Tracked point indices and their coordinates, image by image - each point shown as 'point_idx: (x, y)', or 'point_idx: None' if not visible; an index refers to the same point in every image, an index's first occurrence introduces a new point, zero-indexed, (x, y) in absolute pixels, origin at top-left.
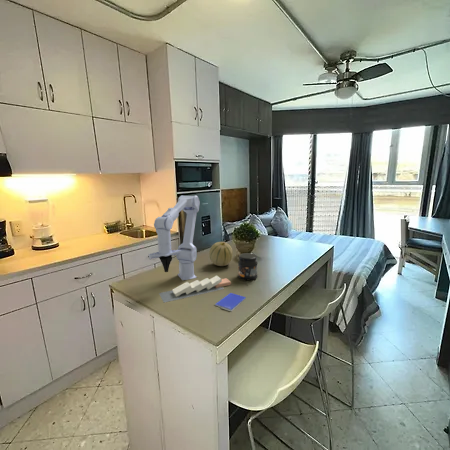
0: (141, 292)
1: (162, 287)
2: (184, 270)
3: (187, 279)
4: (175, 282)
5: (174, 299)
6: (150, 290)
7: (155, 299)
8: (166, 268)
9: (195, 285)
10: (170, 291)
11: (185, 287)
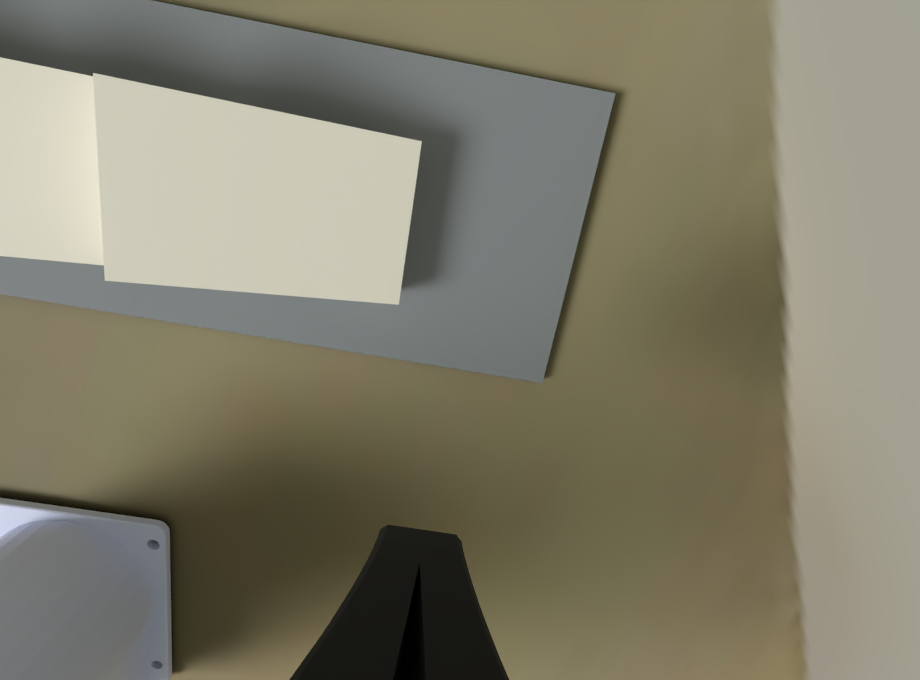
0: (671, 520)
1: (436, 502)
2: (34, 643)
3: (100, 514)
4: (259, 532)
5: (459, 83)
6: (575, 510)
7: (637, 272)
8: (424, 606)
9: (18, 96)
10: (407, 340)
11: (211, 128)
